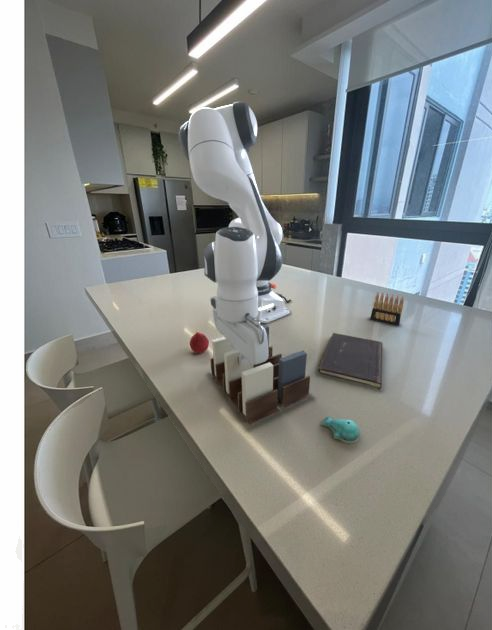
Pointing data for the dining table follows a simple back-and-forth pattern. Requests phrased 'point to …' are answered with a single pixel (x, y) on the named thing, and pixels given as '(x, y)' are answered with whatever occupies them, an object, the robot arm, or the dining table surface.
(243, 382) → the cream book
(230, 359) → the cream book
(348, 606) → the dining table surface
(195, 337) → the onion
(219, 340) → the cream book
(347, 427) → the whale figurine
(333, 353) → the hardcover book
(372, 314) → the ammunition clip
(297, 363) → the grey book
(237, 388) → the book rack
